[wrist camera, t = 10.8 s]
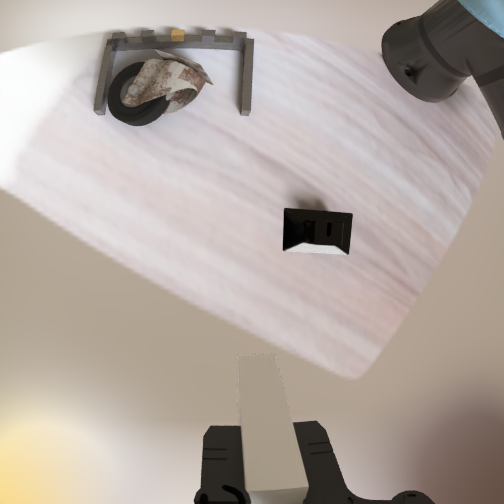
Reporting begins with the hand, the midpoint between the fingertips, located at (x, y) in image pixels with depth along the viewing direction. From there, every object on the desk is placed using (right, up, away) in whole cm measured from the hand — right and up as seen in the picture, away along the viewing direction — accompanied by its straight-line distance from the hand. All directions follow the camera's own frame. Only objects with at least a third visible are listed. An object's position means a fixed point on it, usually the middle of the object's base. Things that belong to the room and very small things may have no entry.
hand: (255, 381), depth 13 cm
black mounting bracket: (+8, +8, +30) cm, 32 cm away
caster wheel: (-13, +25, +25) cm, 38 cm away
